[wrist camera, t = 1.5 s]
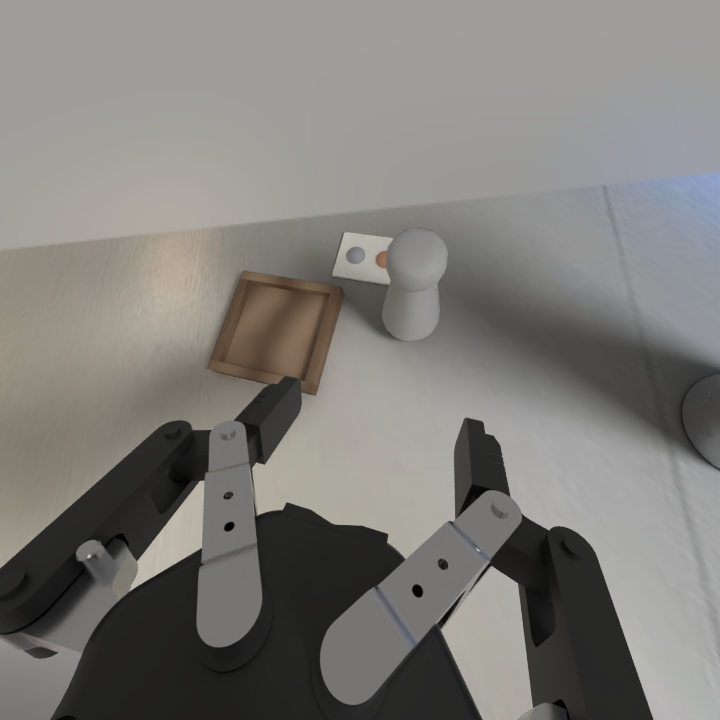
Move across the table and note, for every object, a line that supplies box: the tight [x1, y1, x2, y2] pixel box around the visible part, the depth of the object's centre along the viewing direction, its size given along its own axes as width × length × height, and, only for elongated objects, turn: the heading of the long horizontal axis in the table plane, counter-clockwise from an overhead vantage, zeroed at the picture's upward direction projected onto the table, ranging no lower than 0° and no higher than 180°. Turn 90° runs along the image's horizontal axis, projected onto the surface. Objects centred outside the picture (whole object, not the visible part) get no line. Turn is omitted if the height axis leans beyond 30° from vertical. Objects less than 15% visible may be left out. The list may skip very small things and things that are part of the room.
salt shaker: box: [382, 228, 448, 342], centre depth 26 cm, size 6×6×13 cm
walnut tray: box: [207, 271, 344, 396], centre depth 33 cm, size 12×12×2 cm
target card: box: [332, 232, 394, 286], centre depth 34 cm, size 8×6×1 cm
